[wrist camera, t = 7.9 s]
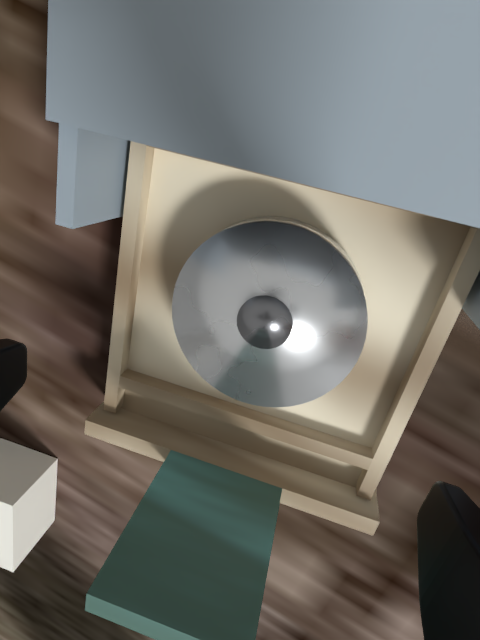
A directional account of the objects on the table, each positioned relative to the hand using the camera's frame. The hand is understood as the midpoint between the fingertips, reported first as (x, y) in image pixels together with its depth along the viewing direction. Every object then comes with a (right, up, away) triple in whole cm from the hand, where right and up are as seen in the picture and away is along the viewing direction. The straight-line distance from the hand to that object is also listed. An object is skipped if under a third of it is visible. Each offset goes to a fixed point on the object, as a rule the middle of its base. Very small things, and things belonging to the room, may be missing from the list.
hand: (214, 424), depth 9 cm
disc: (+2, +3, +7) cm, 8 cm away
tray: (+2, +2, +9) cm, 9 cm away
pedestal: (-13, -7, +16) cm, 22 cm away
